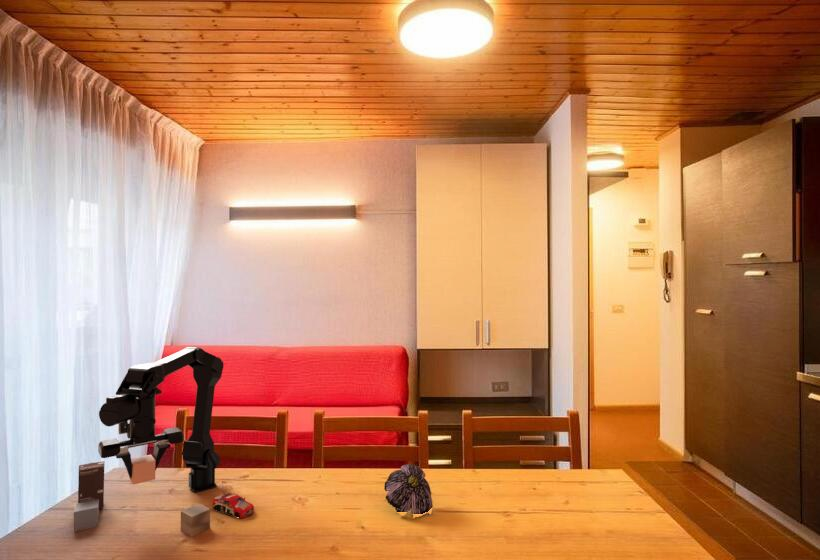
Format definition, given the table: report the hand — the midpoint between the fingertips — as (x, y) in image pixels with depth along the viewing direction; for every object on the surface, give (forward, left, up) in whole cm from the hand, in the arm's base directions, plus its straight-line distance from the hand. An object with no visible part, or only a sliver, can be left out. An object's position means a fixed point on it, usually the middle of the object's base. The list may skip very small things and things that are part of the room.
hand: (142, 474), depth 123 cm
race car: (-21, +7, -14) cm, 26 cm away
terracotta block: (0, 0, -1) cm, 1 cm away
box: (+9, -18, -13) cm, 24 cm away
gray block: (+11, -9, -13) cm, 19 cm away
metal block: (-10, +11, -13) cm, 20 cm away
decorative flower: (-60, +37, -13) cm, 72 cm away
